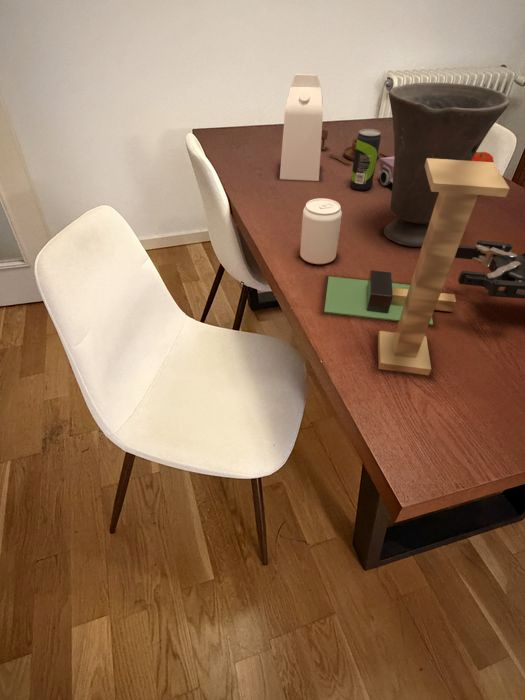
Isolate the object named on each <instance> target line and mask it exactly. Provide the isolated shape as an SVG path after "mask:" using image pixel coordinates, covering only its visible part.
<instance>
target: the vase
mask: <svg viewBox="0 0 525 700" xmlns="http://www.w3.org/2000/svg"><path fill="white" fill-rule="evenodd" d="M388 99H389V104H390V110H391V117H392V129H393V131H392V132H393V142H394V143H393V145H394V147H393V151H394V152H393V154H394V155H393V156H394V172H393V183H392V187H391V197H390V206H389V207H390V212H391V213H392V214H393V215H394V216H395V217H396V219H394V220H393V221H390V222H389V223H388V225H386V226H385V227H384V228H383V229H384V230H383V235H384V236H385V237H386V238H387V239H389V240H391V241H393V242H394V243H396V244H399V245H402V246H407V247H415V248H416V247H417V248H422V245H423V242H424V239H425V236H426V232H427V229H428V226H429V223H430V220H431V216H432V213H433V210H434V207H435V204H436V200H437V197H438V194H439V192H432V191H431V188H430V185H429V181H428V177H427V174H426V170H425V162H426V159H427V158H432V159H448V160H464V161H471V160H472V158H473V157H474V155H475V153H476V152H478V150H479V148H480V146H481V145H482V143H483V142H484V140H485V138H486V137H487V135H488V133H489V132H490V130H491V129H492V128H493V126H495V124H496V122H497V121H498V120H499V119H500V117H501V116H502V115H503V114H504V112H505V111H506V110H507V109H508V107H509V105H510V103H511V101H510V97H509V96H508V95H506V93H504V92H501V91H499V90H496V89H493V88H490V87H485V86H481V85H474V84H466V83H455V82H453V83H451V82H414V83H406V84H402V85H398V86H394V87H391V88H390V90H389V91H388Z"/></svg>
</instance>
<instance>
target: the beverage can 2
mask: <svg viewBox="0 0 525 700" xmlns="http://www.w3.org/2000/svg"><path fill="white" fill-rule="evenodd" d="M381 132H382V131H380V130H378V129H374V128H363V129H360V130H359V131H358V134H357V137H356V139H357V143H356V150H355V156H354V161H353V163H352V170H351V175H350V176H351V177H350V182H349V183H350V186H351V188H352V189H353V190H355V191H358V192H364V191H365V192H367V191H368V190H370V188H372V185H373V181H374V175H375V171H376V165H377V159H378V158H377V155H378V150H379V151H380V148H379V147H380V145H381V139H382V135H381Z"/></svg>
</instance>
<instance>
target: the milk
mask: <svg viewBox="0 0 525 700" xmlns="http://www.w3.org/2000/svg"><path fill="white" fill-rule="evenodd" d="M323 116H324V100H323V93H322V86H321V82H320V80H319V75H318V74H317V73H316V74H315V73H295V74H294V77H293V80H292V82H291V85H290V89H289V92H288V96H287V100H286V104H285V108H284V118H283V131H282V145H281V156H280V169H279V180H292V181H314V182H315V181H317V182H319V181H320V167H321V153H322V152H321V151H322V150H321V147H322V139H321V136H322V130H323V120H324V119H323Z"/></svg>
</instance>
